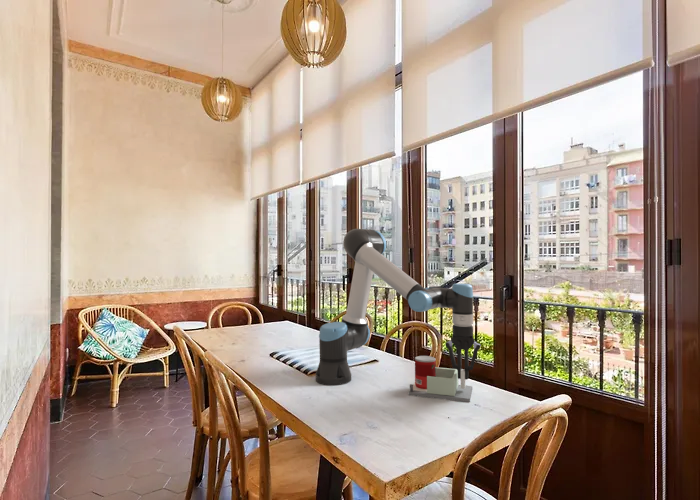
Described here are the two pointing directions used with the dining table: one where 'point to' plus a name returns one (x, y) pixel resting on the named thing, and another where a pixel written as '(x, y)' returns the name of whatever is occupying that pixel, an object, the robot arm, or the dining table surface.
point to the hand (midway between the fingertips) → (463, 387)
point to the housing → (443, 382)
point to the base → (459, 396)
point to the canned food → (424, 370)
